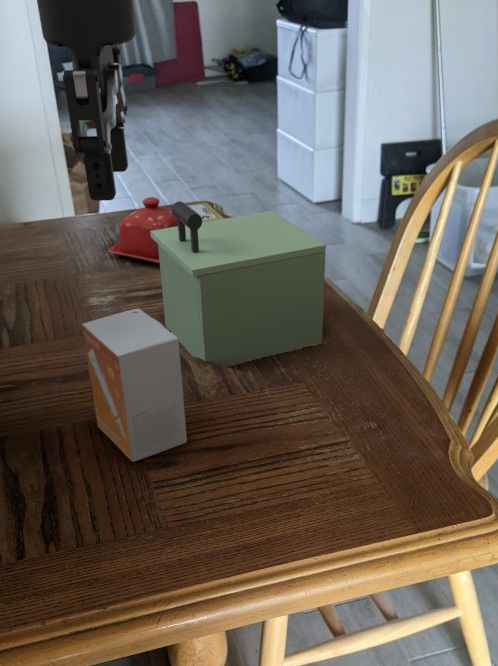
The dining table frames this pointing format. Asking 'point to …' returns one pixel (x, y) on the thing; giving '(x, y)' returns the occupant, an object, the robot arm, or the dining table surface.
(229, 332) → the chest
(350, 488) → the dining table surface
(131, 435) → the small box
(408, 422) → the dining table surface
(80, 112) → the robot arm
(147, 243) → the butter dish
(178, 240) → the lid
